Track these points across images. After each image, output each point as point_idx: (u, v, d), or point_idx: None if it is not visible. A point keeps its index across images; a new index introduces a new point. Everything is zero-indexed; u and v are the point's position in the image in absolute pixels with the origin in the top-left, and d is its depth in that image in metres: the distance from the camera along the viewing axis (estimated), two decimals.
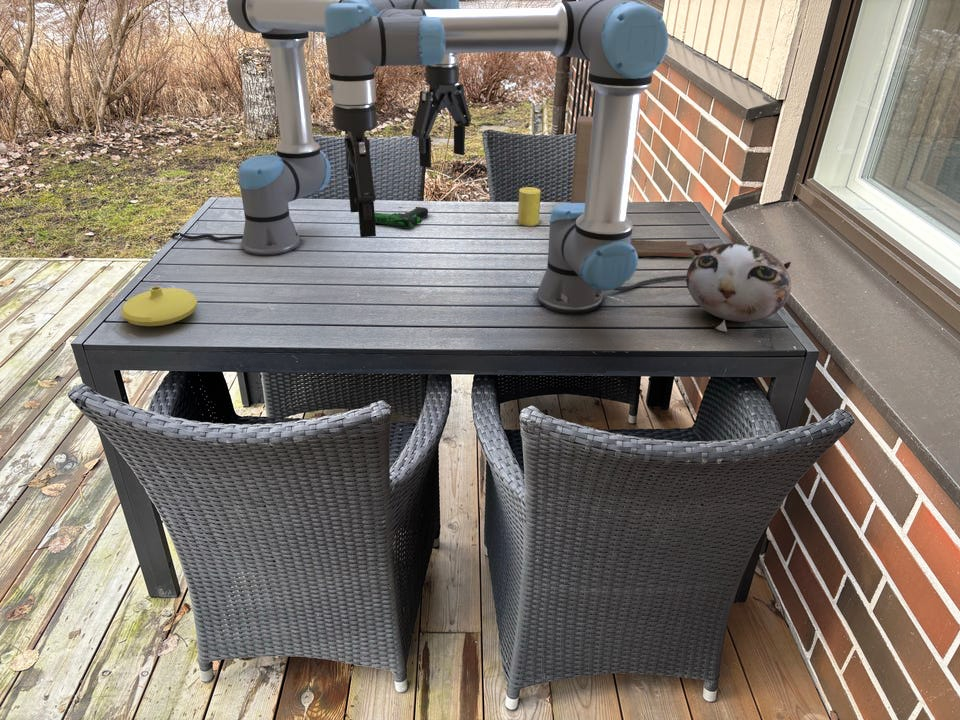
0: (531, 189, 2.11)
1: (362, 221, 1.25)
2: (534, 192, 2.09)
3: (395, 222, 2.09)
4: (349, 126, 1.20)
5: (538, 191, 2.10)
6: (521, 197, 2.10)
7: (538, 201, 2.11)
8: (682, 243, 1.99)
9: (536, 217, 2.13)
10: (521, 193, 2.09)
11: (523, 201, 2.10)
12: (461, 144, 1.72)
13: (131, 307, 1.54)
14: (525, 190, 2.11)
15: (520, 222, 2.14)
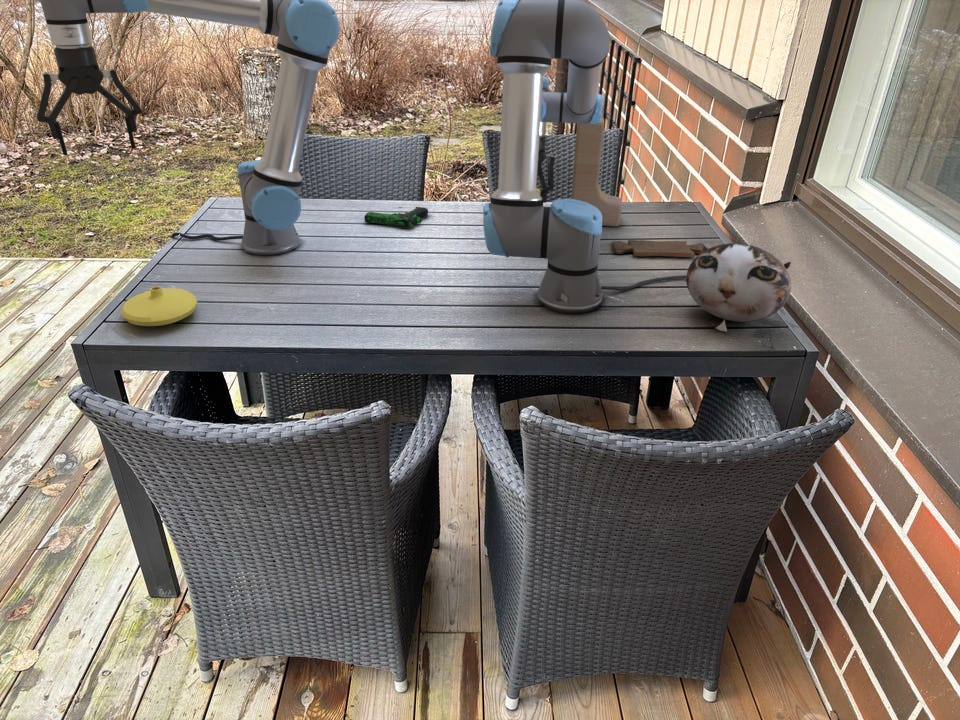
0: None
1: None
2: None
3: (395, 222, 2.09)
4: None
5: (538, 191, 2.10)
6: None
7: None
8: (682, 243, 1.99)
9: None
10: None
11: None
12: (129, 136, 1.58)
13: (131, 307, 1.54)
14: None
15: None
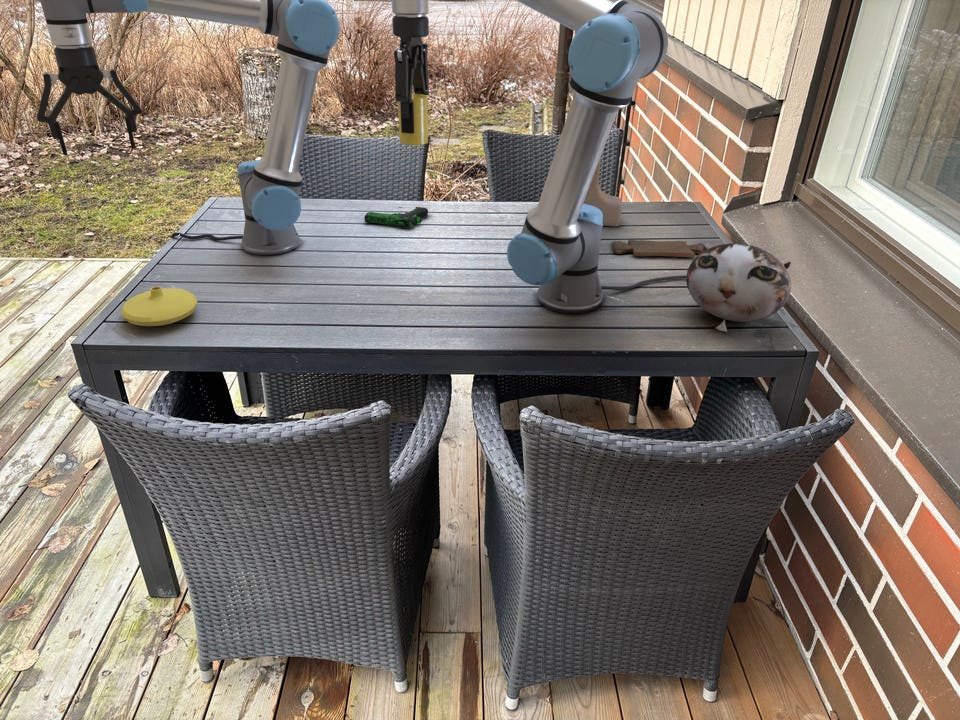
0: None
1: (403, 119, 1.55)
2: (422, 96, 1.56)
3: (395, 222, 2.09)
4: (398, 31, 1.47)
5: (421, 94, 1.58)
6: (414, 106, 1.54)
7: None
8: (682, 243, 1.99)
9: None
10: (414, 101, 1.54)
11: (418, 111, 1.55)
12: (129, 136, 1.58)
13: (131, 307, 1.54)
14: None
15: (416, 142, 1.58)
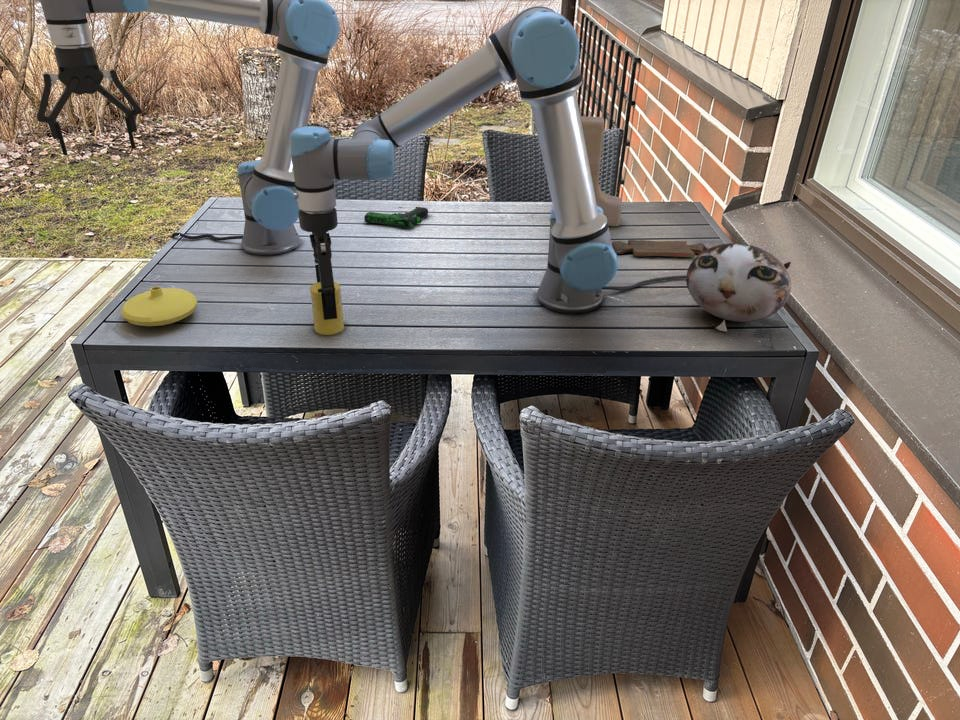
0: None
1: (325, 307, 1.46)
2: (334, 284, 1.53)
3: (395, 222, 2.09)
4: (312, 228, 1.41)
5: None
6: None
7: None
8: (682, 243, 1.99)
9: None
10: None
11: (338, 302, 1.51)
12: (129, 136, 1.58)
13: (131, 307, 1.54)
14: None
15: (337, 330, 1.54)
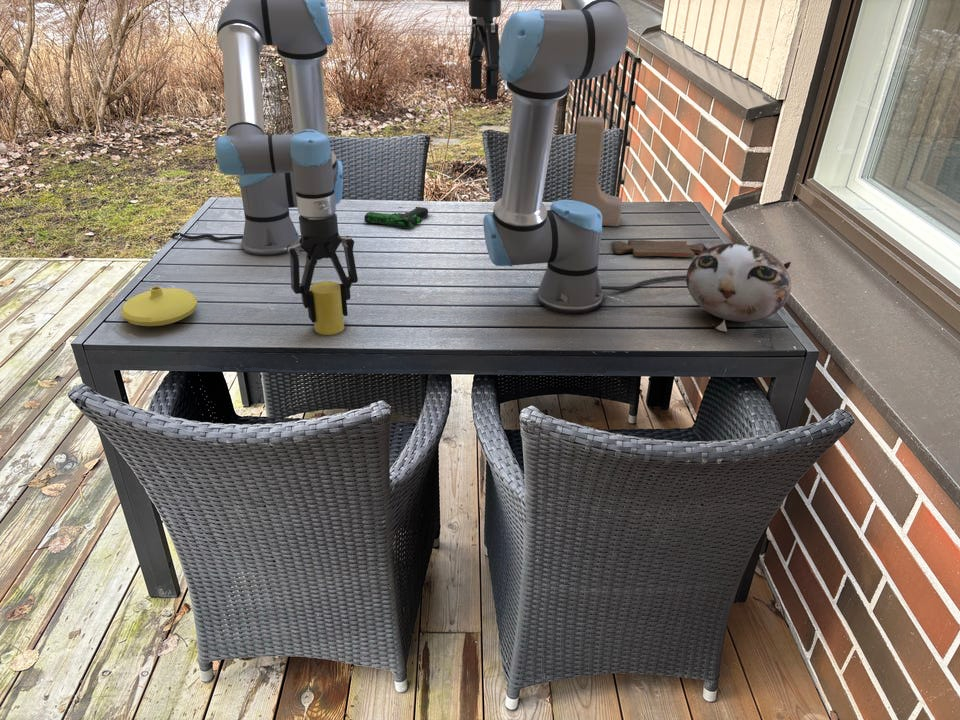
0: (321, 286, 1.52)
1: (488, 86, 1.68)
2: (334, 284, 1.53)
3: (395, 222, 2.09)
4: (483, 12, 1.64)
5: (329, 282, 1.54)
6: (334, 298, 1.50)
7: None
8: (682, 243, 1.99)
9: None
10: (333, 293, 1.50)
11: (338, 302, 1.51)
12: (342, 305, 1.54)
13: (131, 307, 1.54)
14: (326, 290, 1.50)
15: (338, 330, 1.54)
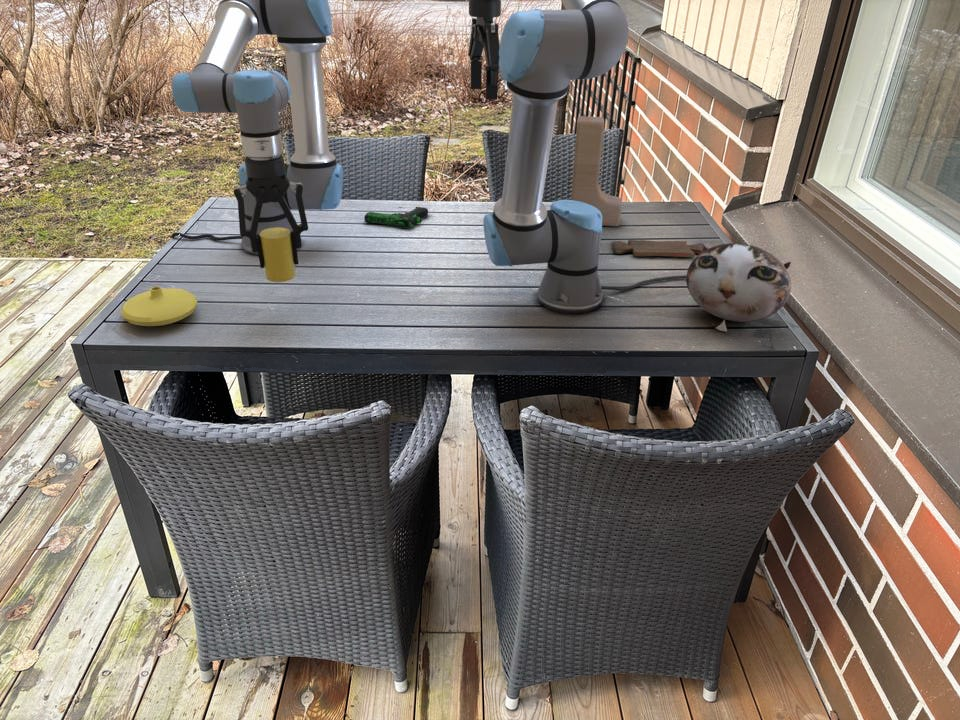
0: (272, 231, 1.49)
1: (488, 86, 1.68)
2: (285, 230, 1.50)
3: (395, 222, 2.09)
4: (483, 12, 1.64)
5: (282, 228, 1.51)
6: (281, 244, 1.47)
7: None
8: (682, 243, 1.99)
9: None
10: (280, 239, 1.47)
11: (286, 248, 1.49)
12: (293, 252, 1.51)
13: (131, 307, 1.54)
14: (274, 235, 1.48)
15: (286, 278, 1.52)
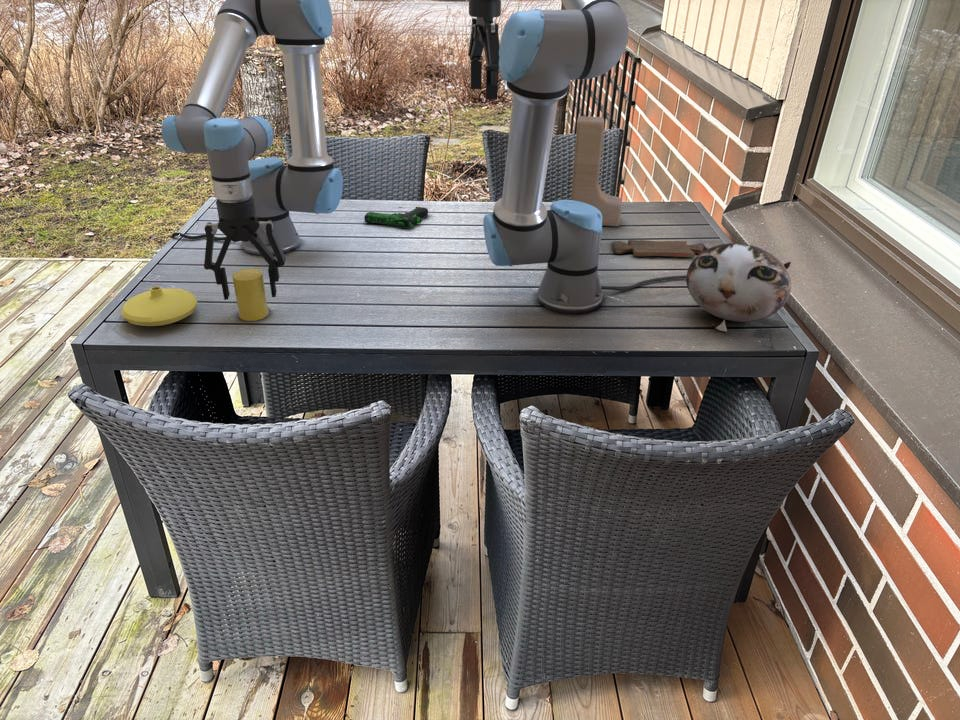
0: (245, 273, 1.57)
1: (488, 86, 1.68)
2: (257, 273, 1.57)
3: (395, 222, 2.09)
4: (483, 12, 1.64)
5: (256, 270, 1.58)
6: (250, 286, 1.55)
7: None
8: (682, 243, 1.99)
9: None
10: (250, 281, 1.54)
11: (255, 290, 1.56)
12: None
13: (131, 307, 1.54)
14: (245, 277, 1.55)
15: (256, 317, 1.59)
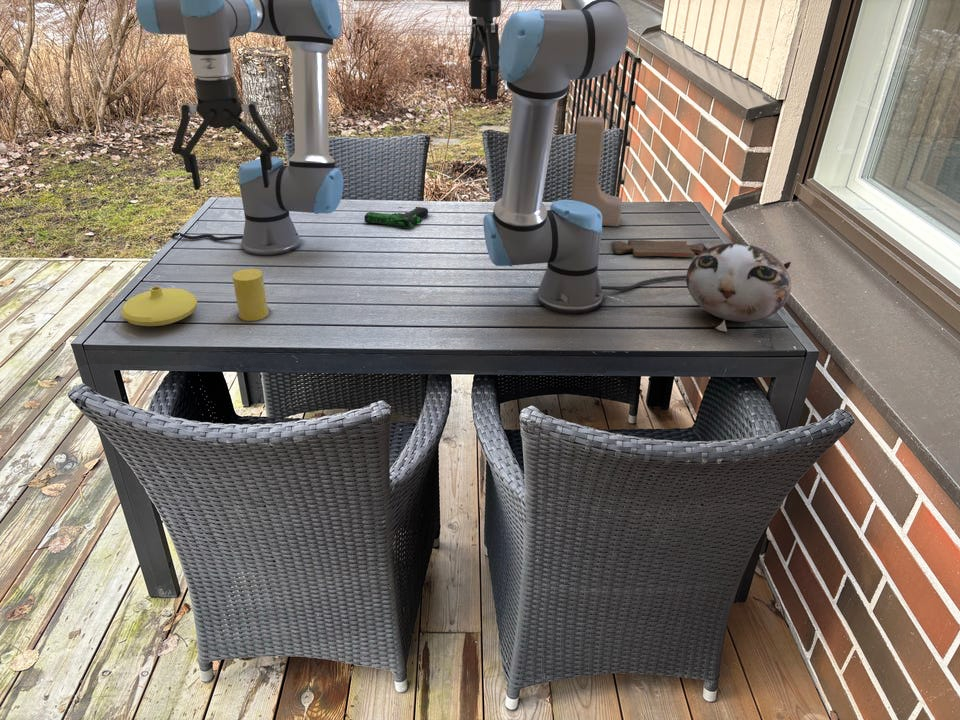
0: (245, 273, 1.57)
1: (488, 86, 1.68)
2: (257, 273, 1.57)
3: (395, 222, 2.09)
4: (483, 12, 1.64)
5: (256, 270, 1.58)
6: (250, 286, 1.55)
7: None
8: (682, 243, 1.99)
9: None
10: (250, 281, 1.54)
11: (255, 290, 1.56)
12: (262, 175, 1.45)
13: (131, 307, 1.54)
14: (245, 277, 1.55)
15: (256, 317, 1.59)
